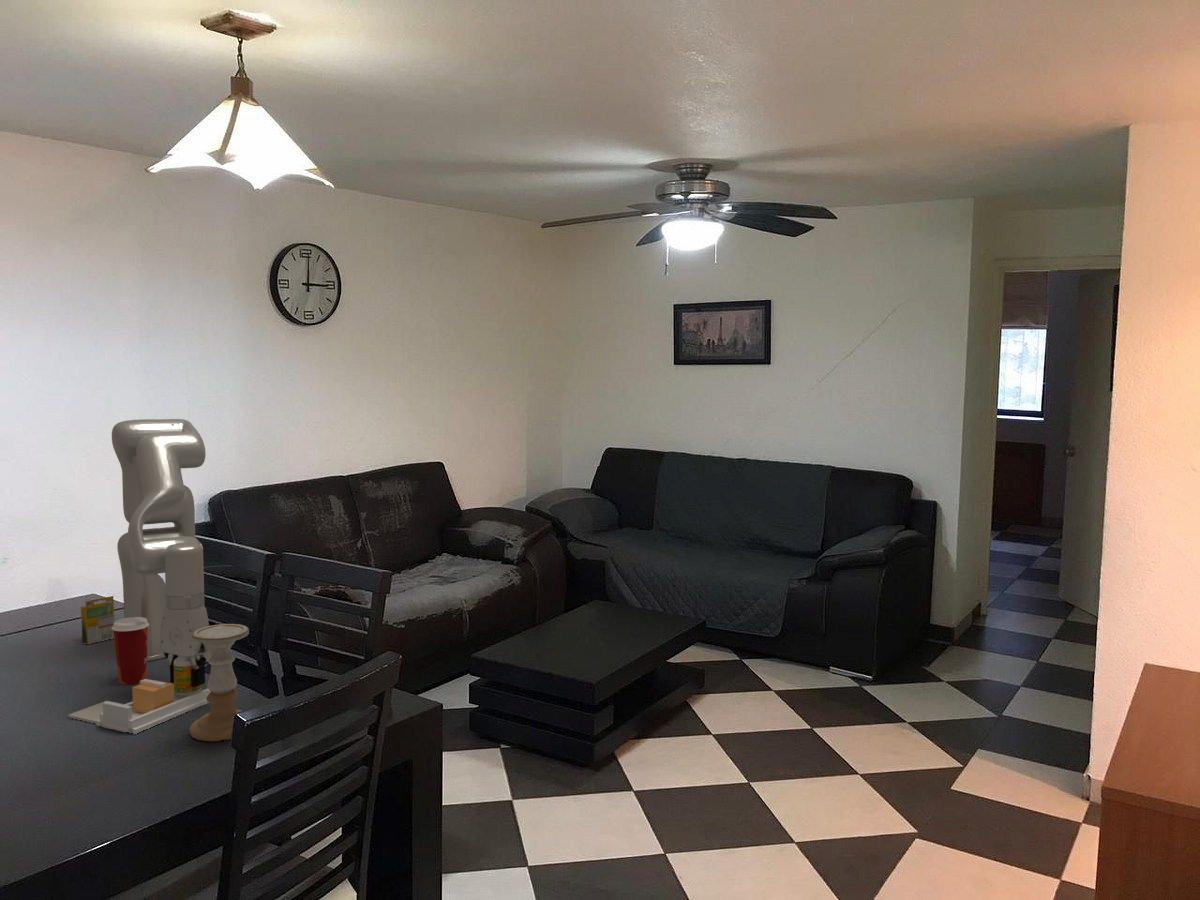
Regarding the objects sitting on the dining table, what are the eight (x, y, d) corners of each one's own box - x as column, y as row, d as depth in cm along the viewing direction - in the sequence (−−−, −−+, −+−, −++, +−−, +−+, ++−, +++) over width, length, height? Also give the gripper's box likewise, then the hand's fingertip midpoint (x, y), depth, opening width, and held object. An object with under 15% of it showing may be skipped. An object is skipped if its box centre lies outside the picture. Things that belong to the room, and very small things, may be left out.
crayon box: (110, 636, 244) (108, 594, 243) (115, 638, 242) (114, 595, 241) (81, 643, 238) (79, 599, 237) (87, 645, 236) (85, 601, 235)
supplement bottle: (170, 696, 195) (168, 651, 194) (179, 687, 200) (178, 644, 199) (196, 695, 195) (195, 651, 195) (205, 686, 201) (203, 643, 200)
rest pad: (107, 703, 196) (106, 700, 196) (137, 709, 192) (137, 706, 192) (68, 717, 188) (67, 714, 188) (98, 724, 184) (98, 721, 184)
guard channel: (178, 693, 202) (177, 671, 202) (215, 701, 198) (214, 678, 197) (96, 725, 184) (95, 701, 183) (135, 734, 179) (134, 709, 179)
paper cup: (158, 678, 212) (156, 618, 211) (129, 688, 205) (127, 627, 204) (135, 673, 216) (133, 614, 214) (105, 682, 209) (103, 622, 207)
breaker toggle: (153, 702, 193) (152, 676, 193) (174, 707, 191) (173, 680, 190) (133, 710, 189) (132, 683, 188) (154, 715, 186) (153, 687, 186)
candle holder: (191, 746, 174) (188, 643, 172) (187, 724, 185) (184, 626, 183) (260, 735, 180) (257, 634, 178) (252, 714, 191) (249, 619, 189)
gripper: (141, 600, 196) (144, 682, 198) (201, 609, 189) (203, 694, 191) (170, 592, 203) (172, 672, 205) (229, 601, 196) (231, 683, 198)
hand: (187, 682), depth 198 cm, fingers closed on supplement bottle, 5 cm apart
